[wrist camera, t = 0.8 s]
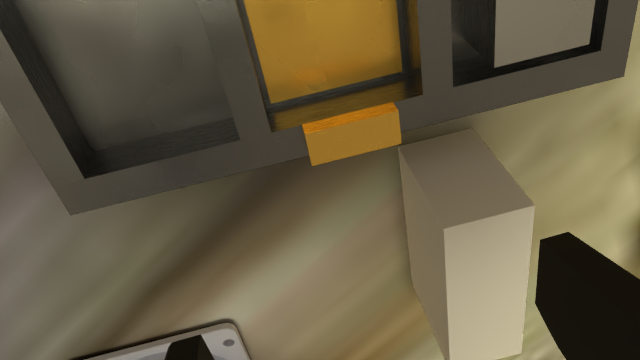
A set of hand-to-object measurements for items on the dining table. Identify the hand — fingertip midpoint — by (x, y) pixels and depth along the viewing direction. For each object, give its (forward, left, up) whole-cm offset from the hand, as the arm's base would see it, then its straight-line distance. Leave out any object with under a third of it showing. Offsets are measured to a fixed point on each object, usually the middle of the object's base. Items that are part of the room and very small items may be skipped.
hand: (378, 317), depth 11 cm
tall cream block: (-7, -5, -10) cm, 13 cm away
